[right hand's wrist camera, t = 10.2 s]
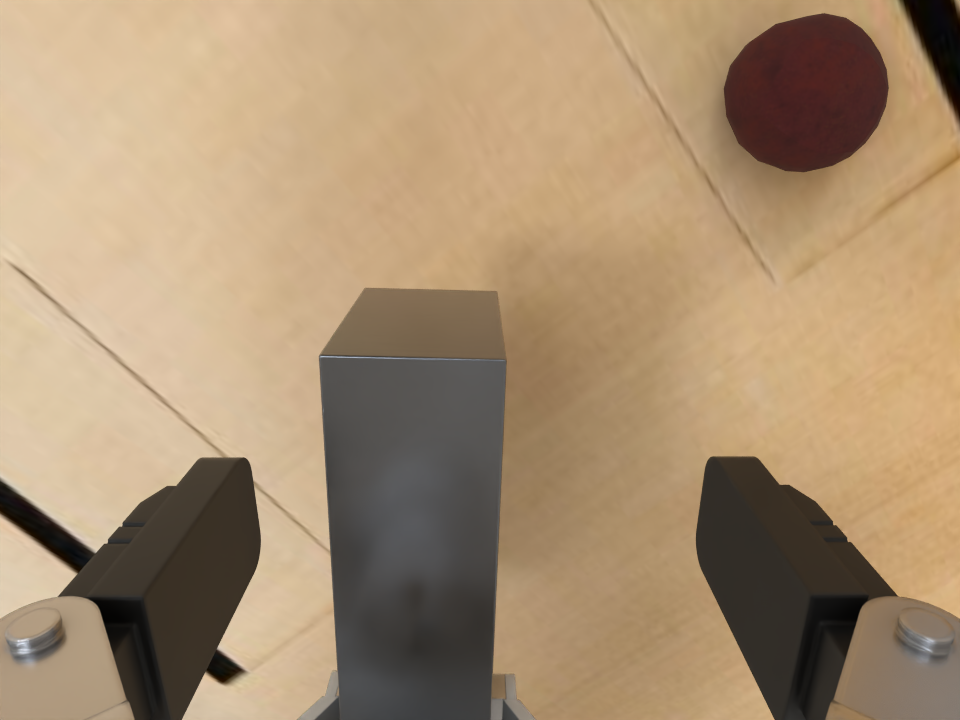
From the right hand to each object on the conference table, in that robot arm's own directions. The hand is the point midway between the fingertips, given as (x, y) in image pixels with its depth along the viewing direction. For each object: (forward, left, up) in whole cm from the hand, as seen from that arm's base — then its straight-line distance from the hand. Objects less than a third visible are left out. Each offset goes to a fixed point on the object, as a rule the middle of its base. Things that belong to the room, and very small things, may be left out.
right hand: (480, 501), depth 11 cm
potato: (-15, +10, -30) cm, 35 cm away
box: (+12, +4, -20) cm, 23 cm away
